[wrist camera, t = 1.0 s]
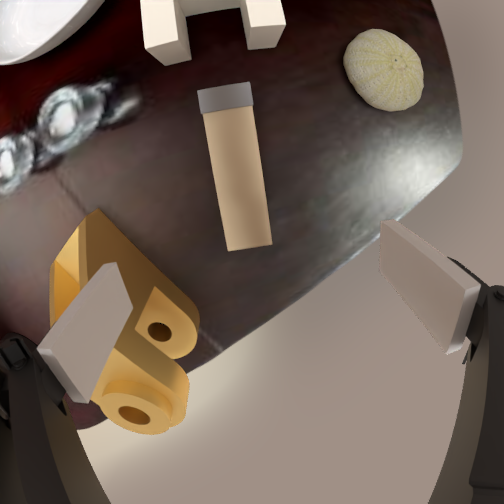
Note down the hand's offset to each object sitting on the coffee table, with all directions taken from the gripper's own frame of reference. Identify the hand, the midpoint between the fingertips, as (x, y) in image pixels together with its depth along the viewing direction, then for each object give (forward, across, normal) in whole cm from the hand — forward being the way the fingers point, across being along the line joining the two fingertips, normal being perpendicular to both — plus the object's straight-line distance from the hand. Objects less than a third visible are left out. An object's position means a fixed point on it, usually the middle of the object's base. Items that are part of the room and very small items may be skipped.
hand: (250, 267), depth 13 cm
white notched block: (+18, 0, +19) cm, 26 cm away
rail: (+18, 0, +3) cm, 18 cm away
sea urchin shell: (+18, +17, +9) cm, 26 cm away
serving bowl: (+18, -18, +31) cm, 40 cm away
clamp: (+18, -16, -10) cm, 26 cm away
